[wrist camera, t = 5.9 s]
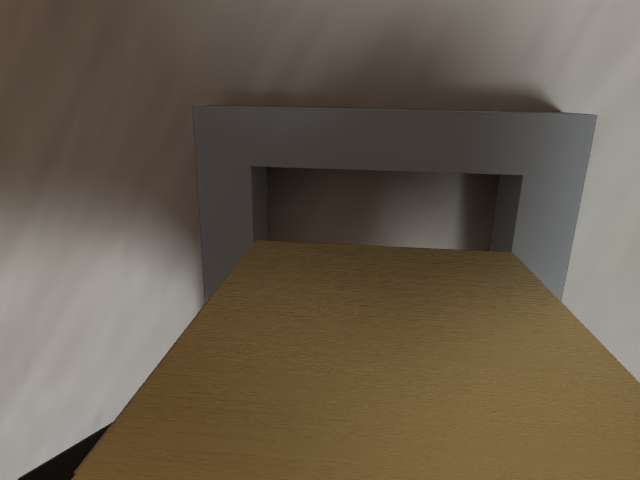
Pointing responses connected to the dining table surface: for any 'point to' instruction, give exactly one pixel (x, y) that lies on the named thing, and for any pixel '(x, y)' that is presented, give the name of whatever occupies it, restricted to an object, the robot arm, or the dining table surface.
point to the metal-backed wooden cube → (378, 377)
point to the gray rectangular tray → (395, 155)
